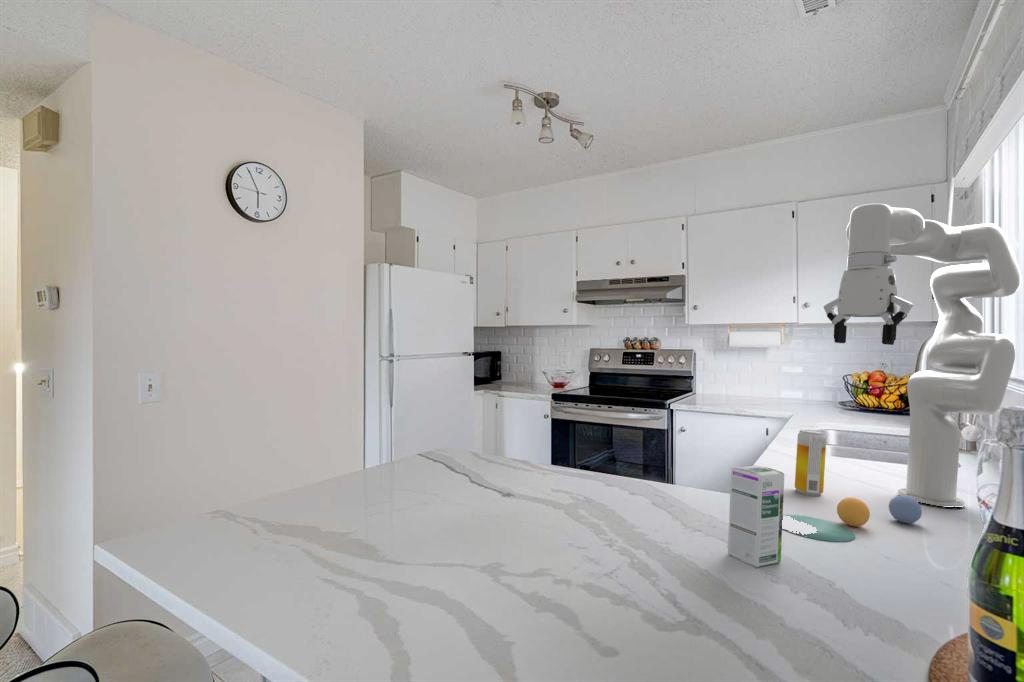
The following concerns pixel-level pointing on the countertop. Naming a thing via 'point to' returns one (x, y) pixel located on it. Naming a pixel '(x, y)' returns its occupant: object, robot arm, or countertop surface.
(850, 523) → the orange ball
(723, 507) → the countertop surface
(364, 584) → the countertop surface
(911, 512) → the blue ball
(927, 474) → the robot arm
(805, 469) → the drink can
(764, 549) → the syrup box
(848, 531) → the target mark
